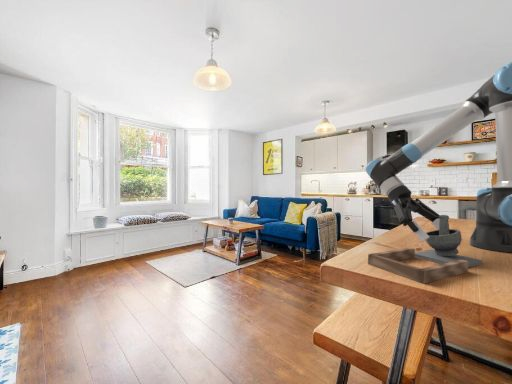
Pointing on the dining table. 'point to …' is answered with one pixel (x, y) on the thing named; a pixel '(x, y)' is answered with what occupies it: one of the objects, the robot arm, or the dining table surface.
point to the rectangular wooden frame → (424, 275)
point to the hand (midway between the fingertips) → (438, 237)
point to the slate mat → (446, 258)
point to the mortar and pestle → (444, 238)
